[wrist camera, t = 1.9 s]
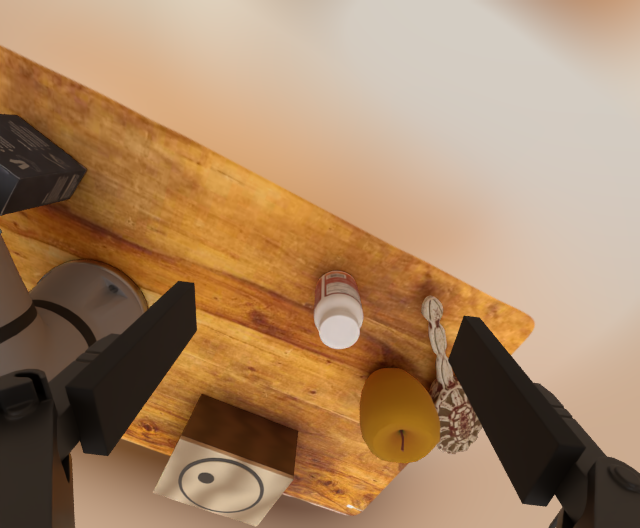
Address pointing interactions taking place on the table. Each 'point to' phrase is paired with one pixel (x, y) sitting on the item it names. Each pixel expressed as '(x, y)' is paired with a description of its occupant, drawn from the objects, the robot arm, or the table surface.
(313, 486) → the table surface
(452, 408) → the hand mirror
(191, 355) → the table surface
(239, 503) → the white and brown speaker
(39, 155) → the box
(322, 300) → the pill bottle
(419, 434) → the apple
